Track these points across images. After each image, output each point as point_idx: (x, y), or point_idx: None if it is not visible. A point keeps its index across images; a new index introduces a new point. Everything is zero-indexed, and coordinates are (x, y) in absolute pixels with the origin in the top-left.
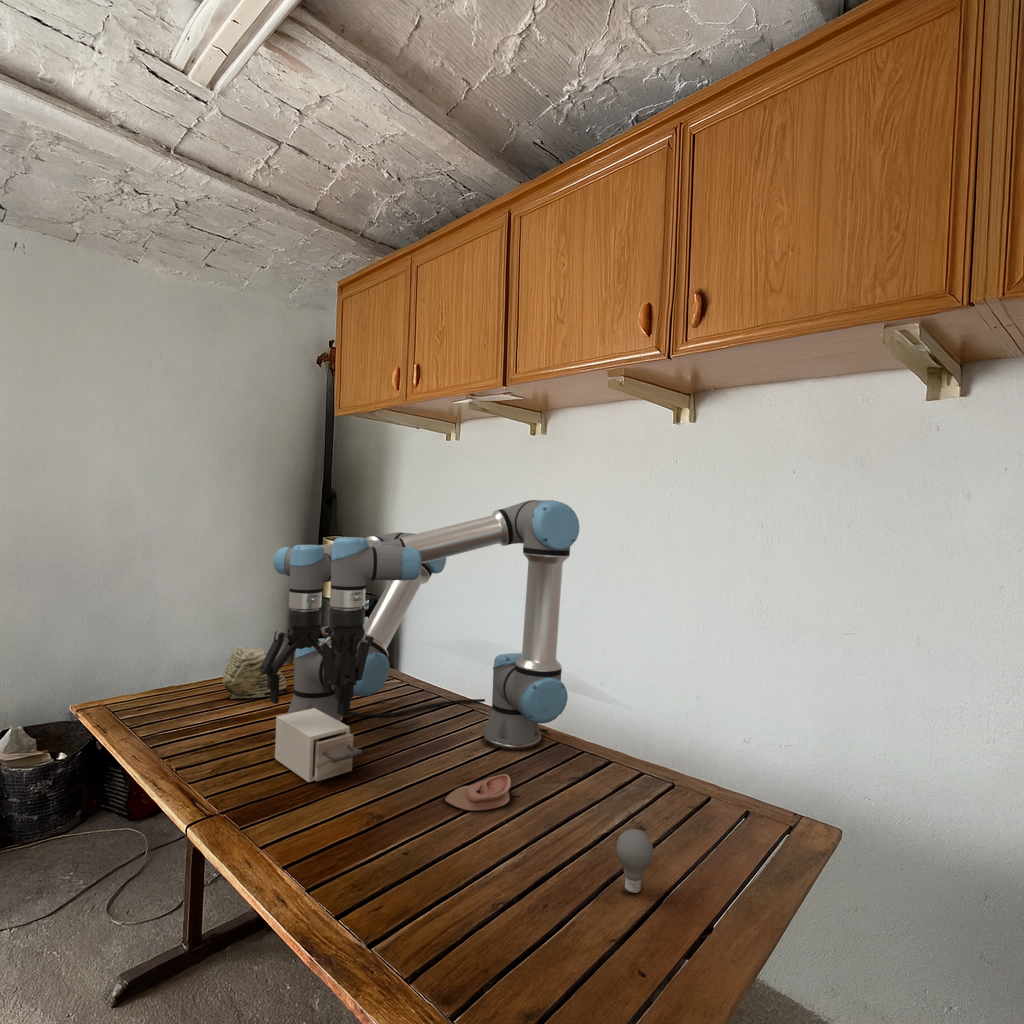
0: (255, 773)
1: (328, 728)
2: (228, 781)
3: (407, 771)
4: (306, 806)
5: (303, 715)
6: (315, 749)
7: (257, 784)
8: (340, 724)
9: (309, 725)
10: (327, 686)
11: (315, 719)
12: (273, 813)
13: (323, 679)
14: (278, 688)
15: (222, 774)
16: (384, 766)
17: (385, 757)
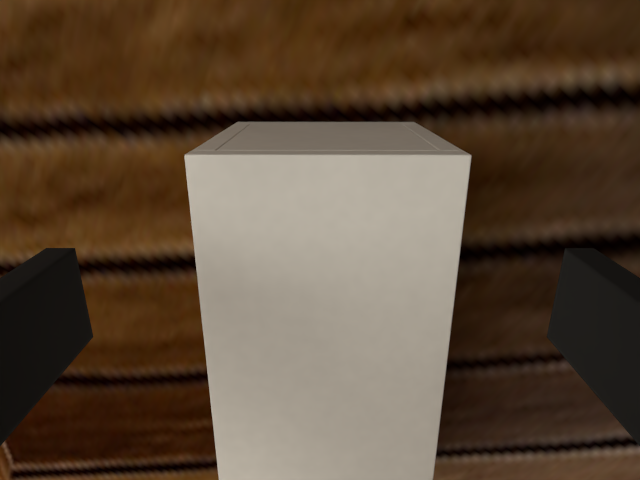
0: (129, 205)
1: (339, 473)
2: (28, 208)
3: (524, 471)
4: (188, 473)
5: (334, 245)
6: None
7: (111, 288)
8: (414, 464)
9: (284, 396)
10: (580, 352)
11: (355, 342)
12: (103, 458)
13: (636, 300)
14: (11, 426)
15: (17, 135)
16: (501, 411)
17: (556, 362)
